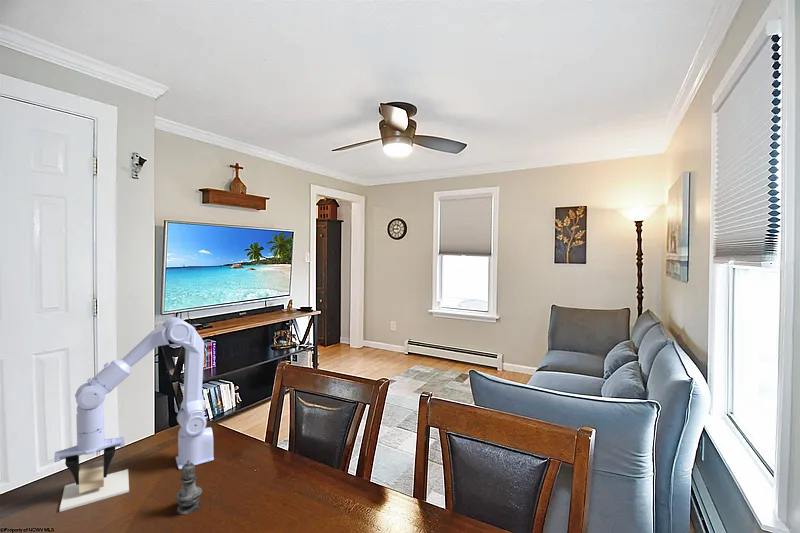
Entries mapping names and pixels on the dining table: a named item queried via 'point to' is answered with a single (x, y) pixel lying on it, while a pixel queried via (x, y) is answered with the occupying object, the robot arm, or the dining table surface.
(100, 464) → the birch block
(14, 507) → the dining table surface
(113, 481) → the white mat
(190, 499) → the grey stone chess piece
